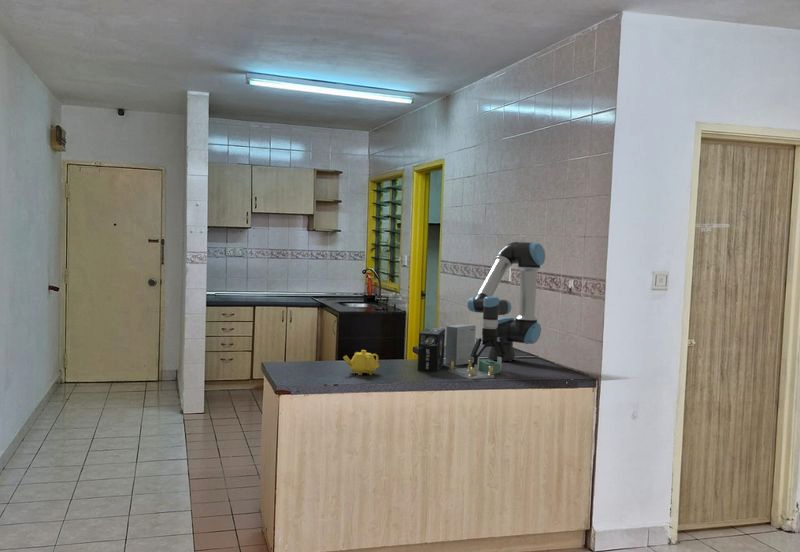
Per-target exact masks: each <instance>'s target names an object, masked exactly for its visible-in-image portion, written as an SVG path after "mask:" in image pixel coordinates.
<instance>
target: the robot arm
mask: <svg viewBox="0 0 800 552" xmlns="http://www.w3.org/2000/svg"><path fill="white" fill-rule="evenodd" d="M493 260H494V261H493V262H494V263H493V265H492V266H491V268H490V270H489V272H488V274H487V275H486V277H485V279H484V281H483V283H482V285H481V286H480V288H479V289H478V292H477V294H476V296H475V297H474V296H473V297H470V298H468V300H467V304H466V305H467V309H468V311H470V312H472V313H480V314H482V327H483V328H482V329H481V330H482V331H481V335H482V337H481V338H480V337H476V338H475V346H474V348H473V350H472V353H471V355H470V356H472V357H474V363H473V365H474V369H476V370H479V359H480V358H479V357H480V355H481V354H482V353H483V351H484V350H485V349H486V348H489V347H490V348H489V350H488V354H487V359H490V360H492V361H494V360H497V361H496V362H497V363H499V364H500V371H502V364H503V363H504V361H509V362H511V361H510V360H515V361H516V354H515V349H514V343H519V344H525V345H533V344H535V343H537V342H538V340H539V338H540V337H541V334H542V327H541V324H540V323H539V322H538V318H537V317H536V315H535V313H536V312H535V310H536V300H537V299H536V297H537V294H536V293H537V282H538V281H537V279H538V277H537V275H538V271H539V270H540V269H541V266H542V265H544V264H545V261H546V252H545V249H544V246H543V245H542V244H541V243H538V242H532V241H531V242H529V241H528V242H526V241H523V242H522V241H513V242H510V243H508V244H506V245H505V246H503V247H502V248H501V249H500V250H499V251H498V252H497V254H496V255H495V257H494V259H493ZM514 264H516V265H517V264H518V265H517V267H518V269H519V270H520V280H519V281H520V282H519V293H518V295H519V299H518V312H517V316H516V317H512V316H511V317H510V316H509V317H499V316H505V315H508V314H509V313H510V312H511V310H512V303H511V302H510V301H509V300H507V299H500V298H499V297H498V296H494V295H495V292H496V291H497V288H498V287H499V285H500V283H501V281H502V280H503V277H504V276H505V274H506V272H507V271H508V269H510V268H511V267H512V266H513V265H514ZM479 371H480V370H479Z"/></svg>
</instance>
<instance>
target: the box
mask: <svg viewBox="0 0 800 552" xmlns="http://www.w3.org/2000/svg"><path fill="white" fill-rule="evenodd" d="M418 334H419V335H418V350H417V351H418V353H417V372H428V373H437V372H439V371H440V369H441V368H442V367H443V366H444V365H445V363H444V358H445V344H446V328H443V327H442V328H440V327H439V328H438V327H426V328H425V329H423V330H422V331H420V332H419V333H418Z"/></svg>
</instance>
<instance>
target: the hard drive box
mask: <svg viewBox="0 0 800 552" xmlns="http://www.w3.org/2000/svg"><path fill="white" fill-rule="evenodd" d="M445 327H446V328H445V355H444V358H445V363H444V365H445V364H446V365H450V361H454V366H462V365H468V360H472V364H474V357H472V356H470V355H471V353H472V350H473V348H474V346H475V344H476V330H477V328H476V325H474V324H469V323H468V324H465V323H464V324H454V325H446V326H445Z"/></svg>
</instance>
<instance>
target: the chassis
mask: <svg viewBox="0 0 800 552" xmlns="http://www.w3.org/2000/svg"><path fill="white" fill-rule="evenodd" d="M447 372H449V373H452V374H455V375H458V376H461V377H464V378H466V379H469V380H480V379H482V380H483V379H494V378H495V374H493V366H489V374H488V373H485V372H482V371H480V370H476V369H475V366H473V363H472V360H468V364H467V367H461V368H459V367H458V368H455V365H454V361H450V364H449V368H448V371H447Z"/></svg>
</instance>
